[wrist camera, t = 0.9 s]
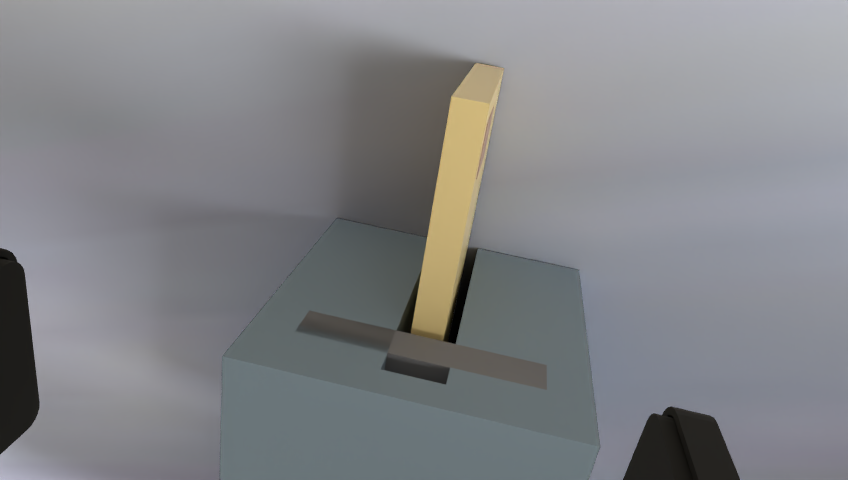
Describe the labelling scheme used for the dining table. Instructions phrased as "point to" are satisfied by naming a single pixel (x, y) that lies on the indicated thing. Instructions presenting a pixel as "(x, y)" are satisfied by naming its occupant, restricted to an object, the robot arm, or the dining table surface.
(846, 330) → the dining table surface
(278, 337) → the dispenser
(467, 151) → the tall yellow upright plank
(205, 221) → the dining table surface
